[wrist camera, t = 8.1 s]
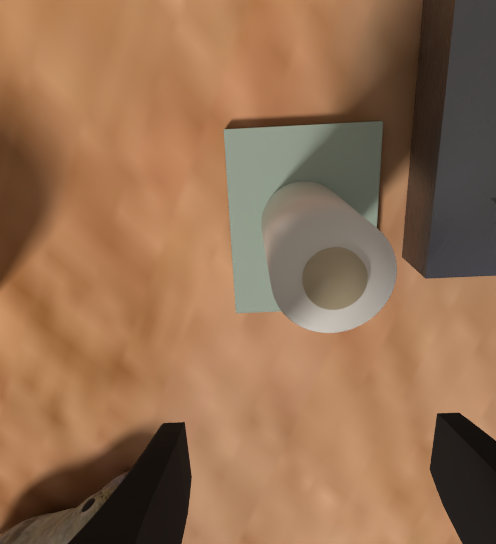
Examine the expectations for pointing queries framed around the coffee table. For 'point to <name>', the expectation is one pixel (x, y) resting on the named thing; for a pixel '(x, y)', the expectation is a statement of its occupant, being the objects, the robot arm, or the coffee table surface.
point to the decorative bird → (60, 520)
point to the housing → (454, 143)
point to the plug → (325, 259)
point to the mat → (287, 169)
